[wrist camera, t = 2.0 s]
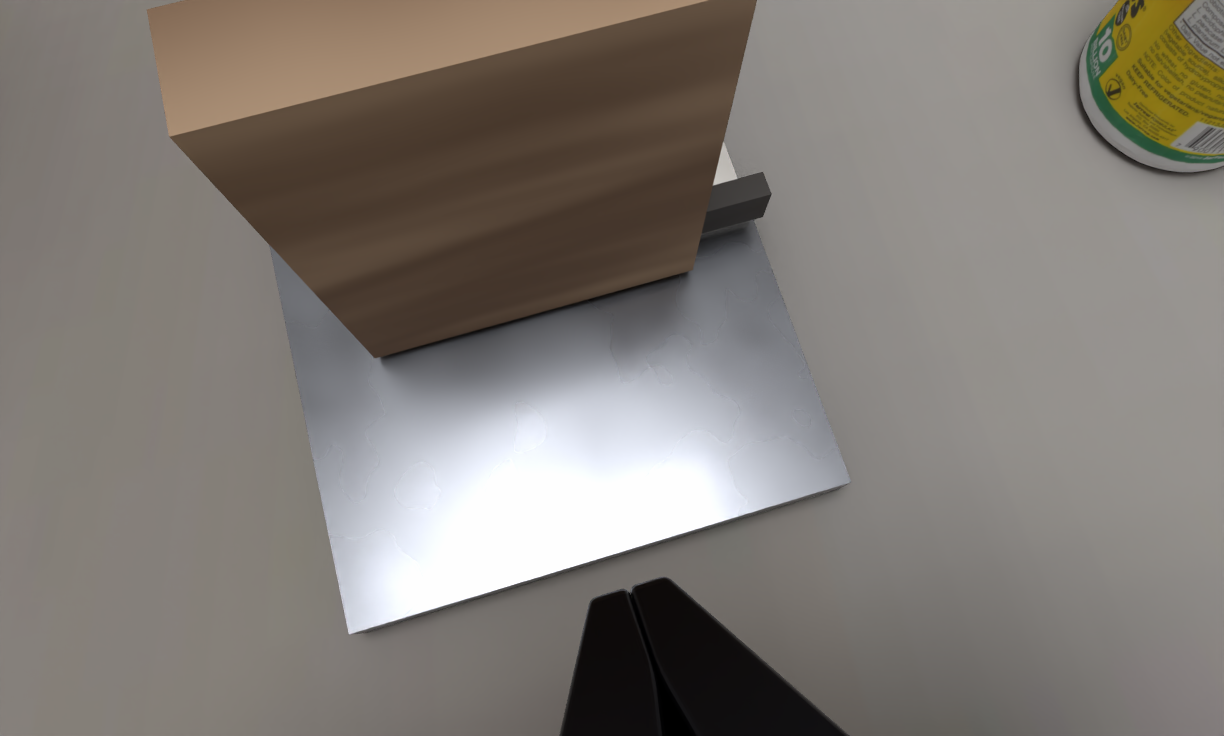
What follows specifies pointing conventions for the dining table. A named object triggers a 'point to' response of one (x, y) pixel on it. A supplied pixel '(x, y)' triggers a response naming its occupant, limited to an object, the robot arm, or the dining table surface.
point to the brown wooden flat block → (462, 146)
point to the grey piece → (557, 431)
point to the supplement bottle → (1159, 82)
